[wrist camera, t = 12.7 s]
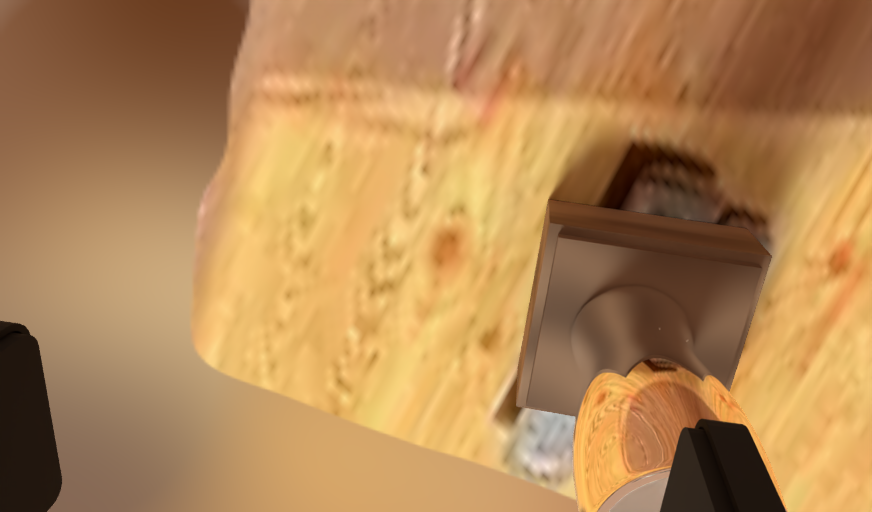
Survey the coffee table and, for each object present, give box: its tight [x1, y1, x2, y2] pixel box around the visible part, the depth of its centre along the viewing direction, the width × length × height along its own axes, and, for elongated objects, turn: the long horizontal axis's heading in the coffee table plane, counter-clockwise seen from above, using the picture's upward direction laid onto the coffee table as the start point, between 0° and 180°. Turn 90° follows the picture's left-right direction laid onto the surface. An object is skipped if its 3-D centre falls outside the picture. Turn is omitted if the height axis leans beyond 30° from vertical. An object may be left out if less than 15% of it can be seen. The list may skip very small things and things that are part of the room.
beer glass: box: [571, 286, 788, 512], centre depth 29 cm, size 7×7×15 cm
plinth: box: [516, 199, 772, 416], centre depth 38 cm, size 11×11×5 cm
